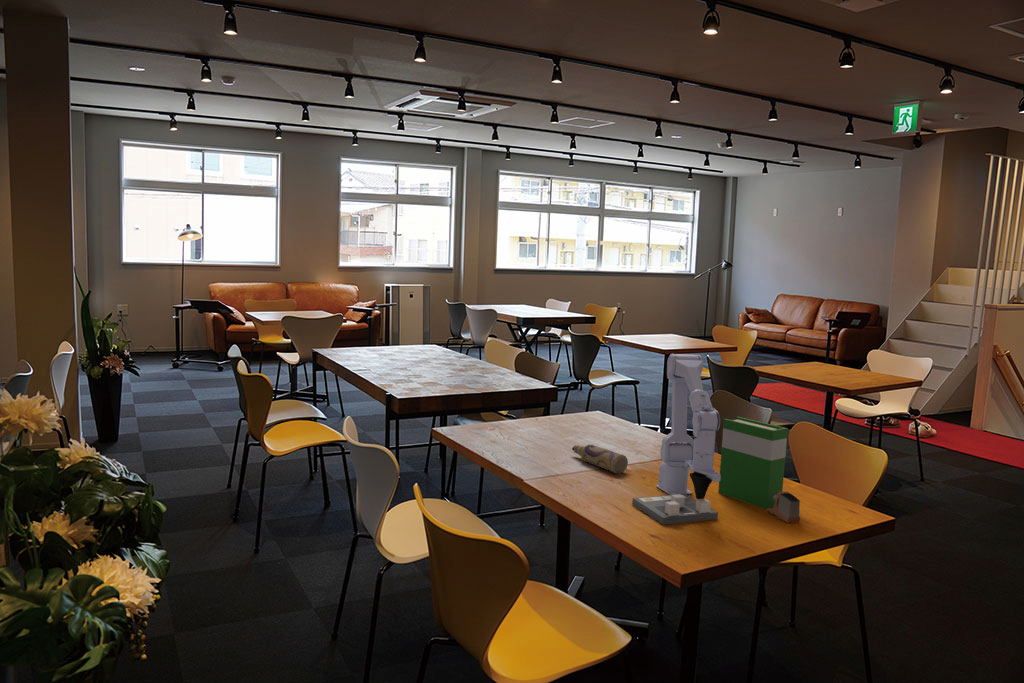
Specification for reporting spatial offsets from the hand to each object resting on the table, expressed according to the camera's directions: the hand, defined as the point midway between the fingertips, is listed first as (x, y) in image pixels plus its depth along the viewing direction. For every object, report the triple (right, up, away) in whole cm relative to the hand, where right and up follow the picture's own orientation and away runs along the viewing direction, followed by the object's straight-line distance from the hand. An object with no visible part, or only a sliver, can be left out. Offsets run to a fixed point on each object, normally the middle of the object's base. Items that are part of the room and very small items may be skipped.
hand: (700, 498), depth 208 cm
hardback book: (+20, -4, +18) cm, 27 cm away
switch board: (-7, -5, +4) cm, 9 cm away
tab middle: (-6, -3, +2) cm, 7 cm away
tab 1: (-9, -3, -4) cm, 11 cm away
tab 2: (0, -3, -1) cm, 4 cm away
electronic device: (+25, -6, +3) cm, 26 cm away
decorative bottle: (-23, +1, +49) cm, 55 cm away
